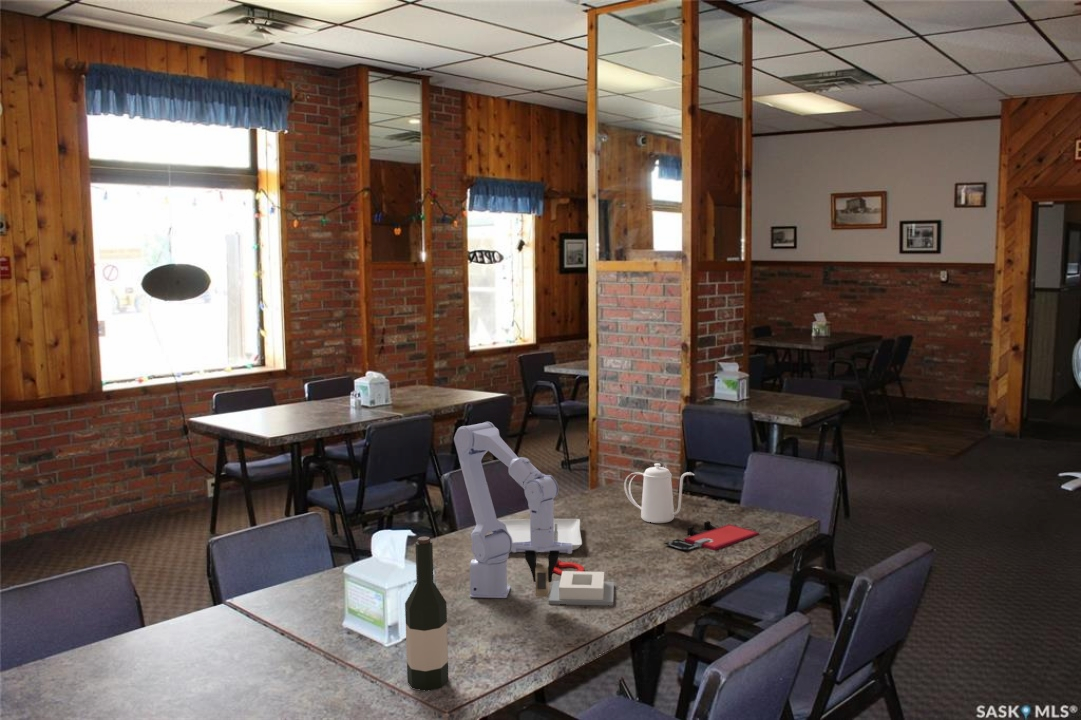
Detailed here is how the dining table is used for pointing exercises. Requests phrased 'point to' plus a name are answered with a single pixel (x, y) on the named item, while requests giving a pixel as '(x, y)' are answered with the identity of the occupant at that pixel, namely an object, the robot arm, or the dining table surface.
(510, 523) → the square plate
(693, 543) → the red board with handle
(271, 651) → the dining table surface
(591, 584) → the slotted block
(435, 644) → the wine bottle
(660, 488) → the coffeepot
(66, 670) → the dining table surface
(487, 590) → the robot arm
